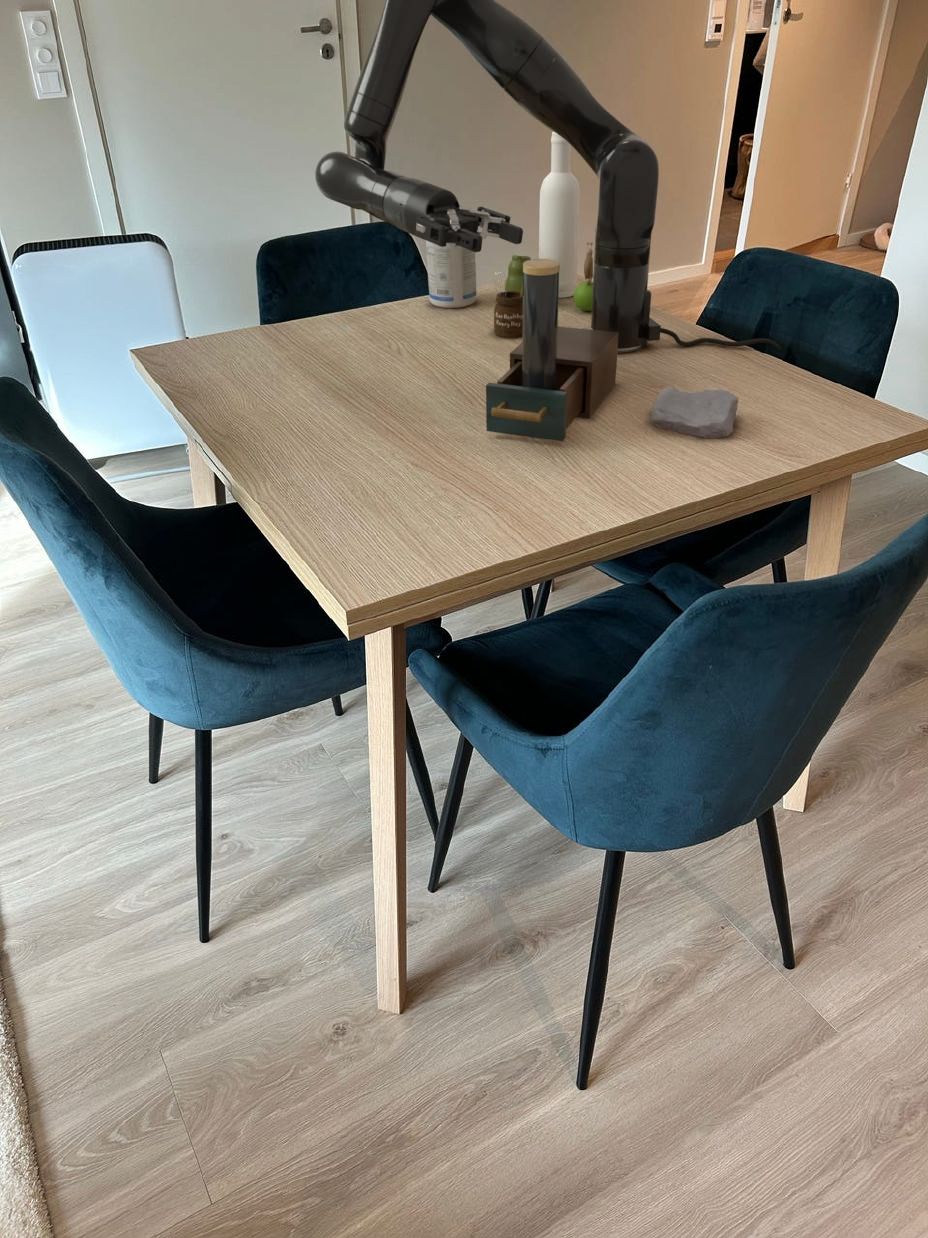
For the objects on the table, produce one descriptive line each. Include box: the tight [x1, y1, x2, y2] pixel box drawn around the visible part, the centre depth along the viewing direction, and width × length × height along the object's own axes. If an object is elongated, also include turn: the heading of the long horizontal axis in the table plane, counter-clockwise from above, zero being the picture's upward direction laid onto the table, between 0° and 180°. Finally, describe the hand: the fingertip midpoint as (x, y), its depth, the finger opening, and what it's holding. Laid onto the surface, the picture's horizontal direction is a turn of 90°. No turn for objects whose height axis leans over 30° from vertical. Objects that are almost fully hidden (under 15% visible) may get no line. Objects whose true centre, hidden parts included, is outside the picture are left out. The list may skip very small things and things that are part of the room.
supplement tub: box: [425, 240, 478, 309], centre depth 192 cm, size 10×10×15 cm
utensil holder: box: [493, 270, 523, 339], centre depth 175 cm, size 6×6×12 cm
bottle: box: [538, 131, 581, 299], centre depth 192 cm, size 8×8×30 cm
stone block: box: [650, 386, 739, 439], centre depth 140 cm, size 12×5×10 cm
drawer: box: [485, 360, 587, 442], centre depth 138 cm, size 17×11×7 cm, turn 158°
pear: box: [504, 254, 532, 293], centre depth 190 cm, size 6×5×10 cm
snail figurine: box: [572, 241, 594, 312], centre depth 186 cm, size 5×6×12 cm
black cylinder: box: [521, 258, 560, 391], centre depth 135 cm, size 5×5×21 cm
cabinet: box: [509, 326, 619, 420], centre depth 149 cm, size 15×13×9 cm
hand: (501, 240), depth 136 cm, fingers open, 8 cm apart
